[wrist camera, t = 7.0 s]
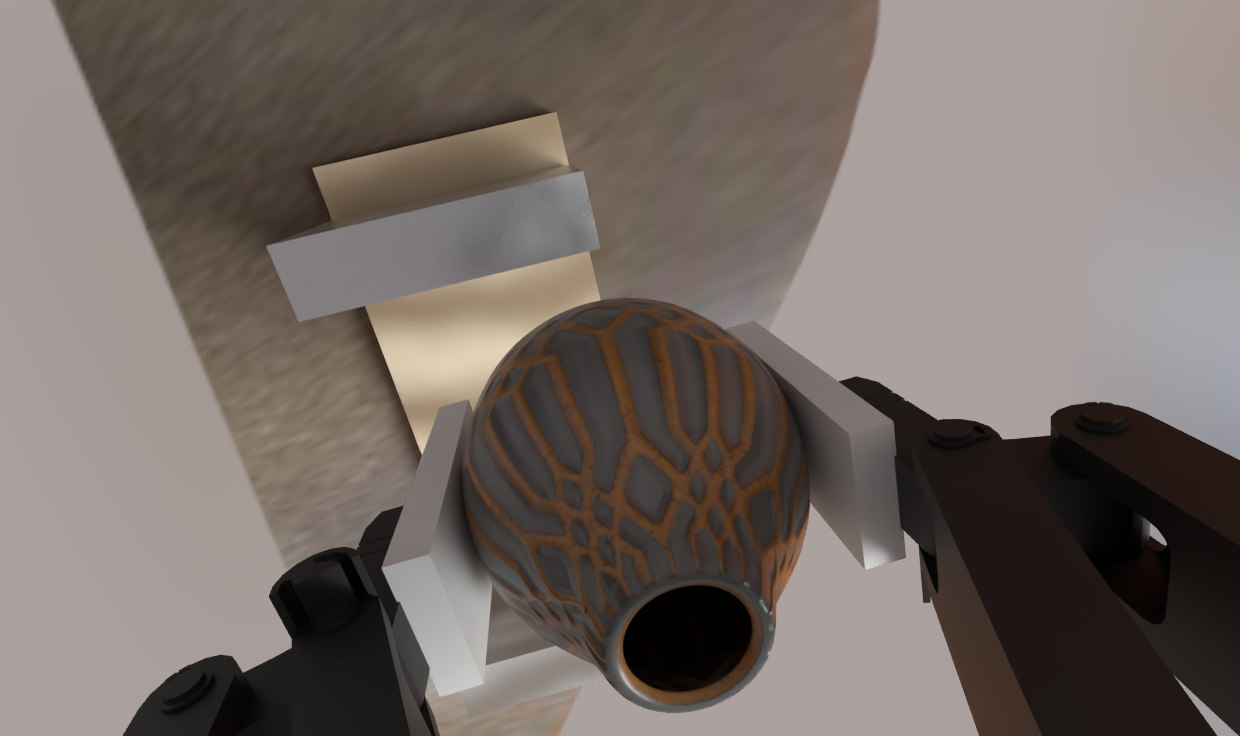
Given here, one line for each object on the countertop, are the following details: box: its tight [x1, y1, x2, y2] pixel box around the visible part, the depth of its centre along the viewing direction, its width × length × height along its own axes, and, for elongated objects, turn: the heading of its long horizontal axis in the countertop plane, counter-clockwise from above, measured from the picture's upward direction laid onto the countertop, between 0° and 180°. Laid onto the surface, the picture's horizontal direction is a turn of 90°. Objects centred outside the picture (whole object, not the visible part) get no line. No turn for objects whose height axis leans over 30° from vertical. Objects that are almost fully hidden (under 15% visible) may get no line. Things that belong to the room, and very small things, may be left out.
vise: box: [312, 112, 605, 717], centre depth 32 cm, size 28×12×10 cm, turn 12°
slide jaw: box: [266, 165, 600, 322], centre depth 27 cm, size 3×12×8 cm, turn 102°
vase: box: [462, 298, 810, 713], centre depth 12 cm, size 7×7×9 cm
